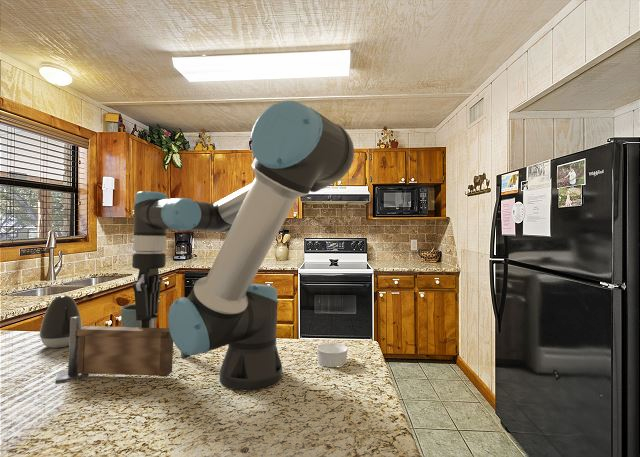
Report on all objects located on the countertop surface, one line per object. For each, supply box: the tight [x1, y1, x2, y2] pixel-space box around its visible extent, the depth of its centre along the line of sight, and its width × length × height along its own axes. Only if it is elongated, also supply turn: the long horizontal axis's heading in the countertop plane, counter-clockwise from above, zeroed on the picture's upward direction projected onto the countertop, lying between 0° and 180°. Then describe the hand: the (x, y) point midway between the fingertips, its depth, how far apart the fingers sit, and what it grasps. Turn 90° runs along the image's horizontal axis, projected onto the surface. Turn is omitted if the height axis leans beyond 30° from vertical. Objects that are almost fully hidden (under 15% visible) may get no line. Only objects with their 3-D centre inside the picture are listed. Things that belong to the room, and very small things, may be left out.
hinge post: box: [54, 315, 89, 384], centre depth 79 cm, size 6×6×14 cm
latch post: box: [180, 351, 191, 359], centre depth 93 cm, size 2×2×13 cm
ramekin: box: [316, 342, 349, 368], centre depth 92 cm, size 9×9×4 cm
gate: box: [77, 325, 174, 378], centre depth 79 cm, size 22×3×11 cm, turn 89°
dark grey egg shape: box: [39, 294, 83, 349], centre depth 100 cm, size 10×10×15 cm
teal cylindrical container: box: [120, 303, 157, 328], centre depth 103 cm, size 10×10×12 cm
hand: (146, 344), depth 83 cm, fingers closed
